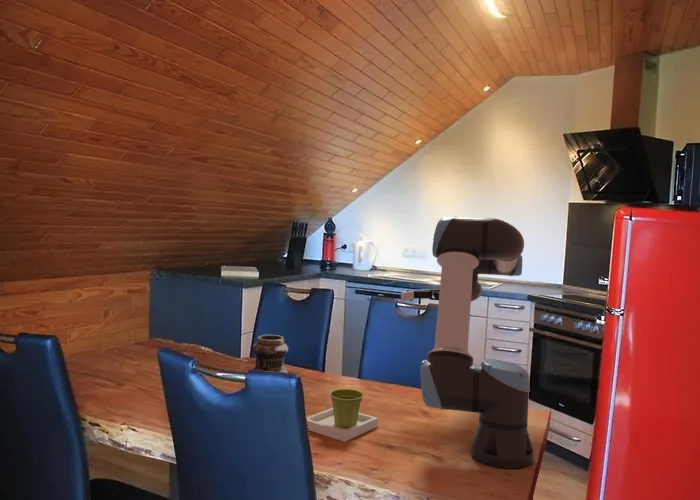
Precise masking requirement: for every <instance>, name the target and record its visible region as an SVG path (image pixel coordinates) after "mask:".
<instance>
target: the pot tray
mask: <svg viewBox="0 0 700 500" xmlns="http://www.w3.org/2000/svg"><path fill="white" fill-rule="evenodd" d="M306 417H307V422H308V428H309V430H308V431H311V432H313V433H316V434H319V435H322V436H325V437H329V438H332V439H335V440H337V441H341V442H344V443H345V442H347V441H350V440H351V439H354V438H357V437H359V436H361V435H363V434H365V433H368V432H369V431H371V430H373V429H374V430H375V429H376V428H378V427H379V417H375V416H372V415H368V414H365V413H362V412H359V413H358V420H357V425H356V426H354V427H351V428H348V427H344V428H340V427H338V426H336V425H335V422H334V411H333V407H330V408H328V409H325V410H322V411H320V412H318V413H315V414H312V415H309V416H306Z"/></svg>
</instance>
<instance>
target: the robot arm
mask: <svg viewBox="0 0 700 500" xmlns="http://www.w3.org/2000/svg"><path fill="white" fill-rule="evenodd" d="M432 241H433V242H432V246H431V247H432V248H431V250H432V253H431V254H432V256H433V258H436V263H437V264H438V266H440V268H441V272H440V281H439V282H440V283H439V288H435V289H433V288H425V289H424V288H423V289H406V290H405V291H402V292H401V293H400V301H401V302H406V301H410V302H412V301H413V300H414V299H418V300H419V299H429V300H430V301H438V305H437V315H436V316H437V317H436V327H435V328H436V329H435V338H434V348H433V349H431V350H430V351H429V352H427V359H424V360H421V362H420V388H421V396H422V397H421V398H422V401H423V403H424V405H425V406H426V407H429V408H434V409H440V410H442V411H443V410H448V411H458V412H459V411H460V412H467V413H469V412H470V413H475V414H479V416H478V419H479V420H478V425H477V427H476V430H475V432H474V434H473V437H472V440H471V443H470V455H471V456H472V458H473V459H474V460H476V461H477V462H480V463H482V464H485V465H487V466H492V467H495V468H499V469H523V468H526V467H530V466H531V465H532V464H533V462H534V456H535V455H534V454H535V453H534V452H535V451H534V448H533V445H532V444H533V443H532V440H531V437H530V433H529V429H528V423H529V422H528V421H529V417H528V416H529V395H530V394H529V392H530V390H531V387H530V375H529V373H528V371H527V370H526V368H524V367H522V366H520V365H518V364H516V363H513V362H509V361H506V360H503V359H502V360H501V359H495V358H492V359H491V358H485V359H483V360H481V363H480V365H479V364H474V357H473V356H472V355H471V353H469V339H470V337H469V336H470V323H471V322H470V321H471V320H470V319H471V306H472V302H474V301H476V300H478V299H479V298H480V297H481V296H482V293H483V287H482V286H481V283H480V282H479V275H490V276H491V275H492V276H507V277H519V276H521V275H522V273H523V256H522V254H523V252H524V248H525V240H524V236H523V235H522V233H521V232H520V230H519V229H518V228H516V227H515V226H514V225H512V224H511V223H509V222H506V221H504V220H502V219H499V218H493V217H492V218H491V217H488V218H487V217H486V218H485V217H457V216H452V217H451V216H450V217H442V218H440V219H439V220H438V222H437V224H436V226H435V229H434V234H433V239H432Z"/></svg>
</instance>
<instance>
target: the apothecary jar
mask: <svg viewBox="0 0 700 500" xmlns="http://www.w3.org/2000/svg"><path fill="white" fill-rule="evenodd" d="M288 351H289V346H288V345H287V344H286V343H285V339H284V336H281V335H280V334H279V335H278V334H263V335H259V336H258V337H257V341H256V343H254V344H253V346H252V352H253V353H254V354H255V366H254V367H253V369H252V370H261V371H274V372H285V373H288V370H287V368H286V367H285V355H286V354H287V353H288Z"/></svg>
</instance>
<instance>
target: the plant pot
mask: <svg viewBox="0 0 700 500" xmlns="http://www.w3.org/2000/svg"><path fill="white" fill-rule="evenodd" d="M329 397H330V398H331V401H332V408H333V411H334V422H335V425H336V426H338V427H340V428H344V427H348V428H351V427H354V426H356V425H357V420H358V413H360V408H361V402H362V401H363V398H364V397H365V394H364V392H362V391H360V390H356V389H352V388H339V389H338V388H337V389H335V390H332V391H330V392H329Z"/></svg>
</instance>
